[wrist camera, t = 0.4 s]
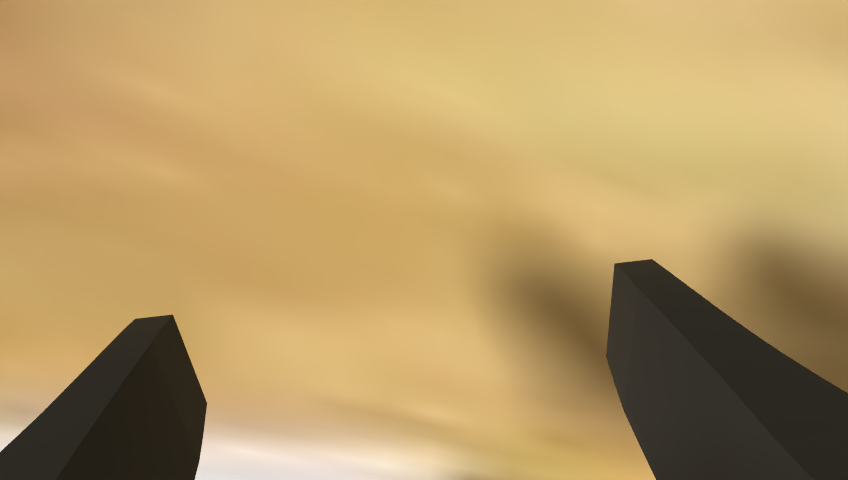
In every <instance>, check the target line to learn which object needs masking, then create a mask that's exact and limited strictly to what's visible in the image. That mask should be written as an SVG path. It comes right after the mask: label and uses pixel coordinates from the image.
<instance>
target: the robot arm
mask: <svg viewBox="0 0 848 480" xmlns="http://www.w3.org/2000/svg"><path fill="white" fill-rule="evenodd" d="M606 357H607V360H608V363H609V367H610V370H611V373H612V376H613V379H614V383H615V386H616V389H617V392H618V395H619V398H620V401H621V404H622V407H623V409H624V412H625V414H626V416H627V419H628V421H629V423H630V425H631V427H632V429H633V432H634V434H635V436H636V438H637V440H638V442H639V444H640V446H641V449H642V451H643V453H644V455H645V457H646V459H647V461H648V463H649V465H650V468H651V470H652V472H653V474H654V476H655V478H656V480H848V393H846V392H845V391H843V390H841V389H840V388H838V387H836V386H834V385H833V384H831V383H829V382H828V381H826V380H824V379H823V378H821V377H819V376H818V375H816V374H815V373H813V372H811V371H810V370H808V369H807V368H805V367H804V366H802V365H800V364H799V363H797V362H796V361H794V360H792V359H791V358H789V357H788V356H786V355H785V354H783V353H781V352H780V351H778V350H777V349H775V348H774V347H772V346H771V345H769V344H768V343H767V342H765V341H764V340H762V339H761V338H759V337H758V336H756V335H755V334H753V333H752V332H750V331H749V330H748V329H746V328H745V327H743V326H742V325H741V324H739V323H738V322H736V321H735V320H733V319H732V318H731V317H729V316H728V315H727V314H725V313H724V312H722V311H721V310H720V309H718V308H717V307H716V306H714V305H713V304H712V303H710V302H709V301H707V300H706V299H705V298H703V297H702V296H701V295H699V294H698V293H697V292H695V291H694V290H693V289H691V288H690V287H689V286H687V285H686V284H685V283H683V282H682V281H681V280H679V279H678V278H677V277H675V276H674V275H673V274H671V273H670V272H669V271H667V270H666V269H665V268H663V267H662V266H661V265H659V264H658V263H656V262H655V261H653V260H652V259H650V260H642V261H633V262H624V263H616V264H615V265H614V276H613V287H612V298H611V310H610V321H609V332H608V343H607V354H606ZM206 407H207V402H206V400H205V397H204V394H203V392H202V389H201V387H200V384H199V381H198V379H197V376H196V374H195V371H194V368H193V366H192V363H191V361H190V358H189V355H188V353H187V350H186V348H185V345H184V343H183V340H182V337H181V335H180V332H179V330H178V327H177V324H176V322H175V319H174V317H173V315H166V316H157V317H148V318H140V319H135V320H134V321H133V322H131V323H130V324H129V325H128V326H127V327H126V328H125V329H124V330H123V331H122V332H121V333H120V334H119V335H118V336H117V337H116V338H115V339H114V340H113V341H112V342H111V343H110V344H109V345H108V346H107V347H106V348H105V349H104V350H103V351H102V352H101V353H100V354H99V355H98V356H97V357H96V359H95V360H94V361H93V362H92V363H91V364H90V365H89V366H88V367H87V368H86V369H85V370H84V371H83V372H82V373H81V374H80V375H79V376H78V377H77V378H76V379H75V380H74V381H73V382H72V383H71V384H70V385H69V386H68V387H67V388H66V389H65V390H64V391H63V392H62V393H61V394H60V395H59V396H58V397H57V398H56V399H55V400H54V401H53V402H52V403H51V404H50V405H49V406H48V407H47V408H46V409H45V410H44V411H43V412H42V413H41V414H40V415H39V416H38V417H37V418H36V419H35V420H34V421H33V422H32V423H31V424H30V425H29V426H28V427H27V428H26V429H24V430H23V431H22V432H21V433H20V434H19V435H18V436H17V437H16V438H15V439H14V440H13V441H12V442H11V443H9V444H8V445H7V446H6V447H5V448H4V449H3V450H2V451H1V452H0V480H194V479H195V475H196V471H197V468H198V464H199V459H200V452H201V446H202V439H203V432H204V423H205V415H206Z"/></svg>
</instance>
